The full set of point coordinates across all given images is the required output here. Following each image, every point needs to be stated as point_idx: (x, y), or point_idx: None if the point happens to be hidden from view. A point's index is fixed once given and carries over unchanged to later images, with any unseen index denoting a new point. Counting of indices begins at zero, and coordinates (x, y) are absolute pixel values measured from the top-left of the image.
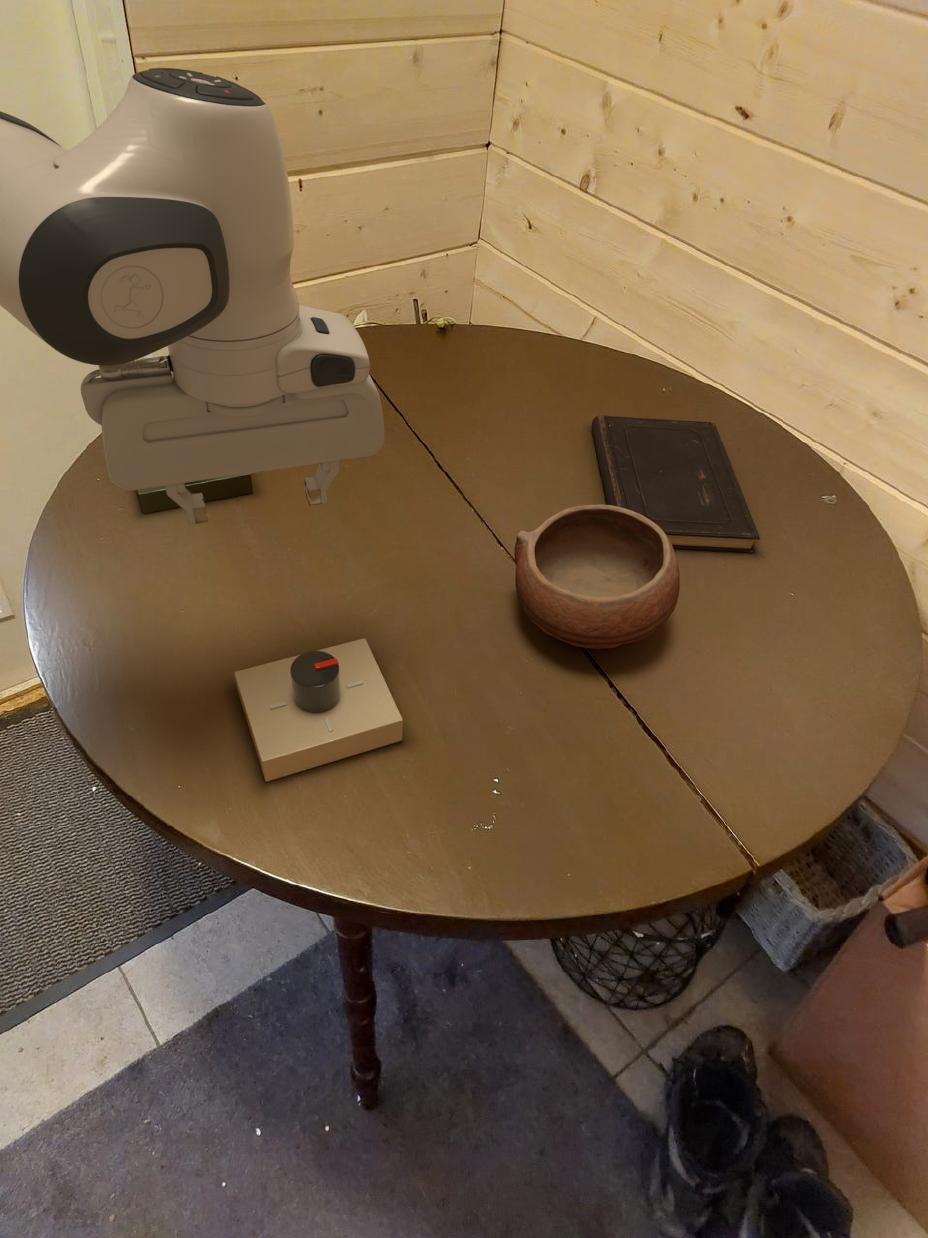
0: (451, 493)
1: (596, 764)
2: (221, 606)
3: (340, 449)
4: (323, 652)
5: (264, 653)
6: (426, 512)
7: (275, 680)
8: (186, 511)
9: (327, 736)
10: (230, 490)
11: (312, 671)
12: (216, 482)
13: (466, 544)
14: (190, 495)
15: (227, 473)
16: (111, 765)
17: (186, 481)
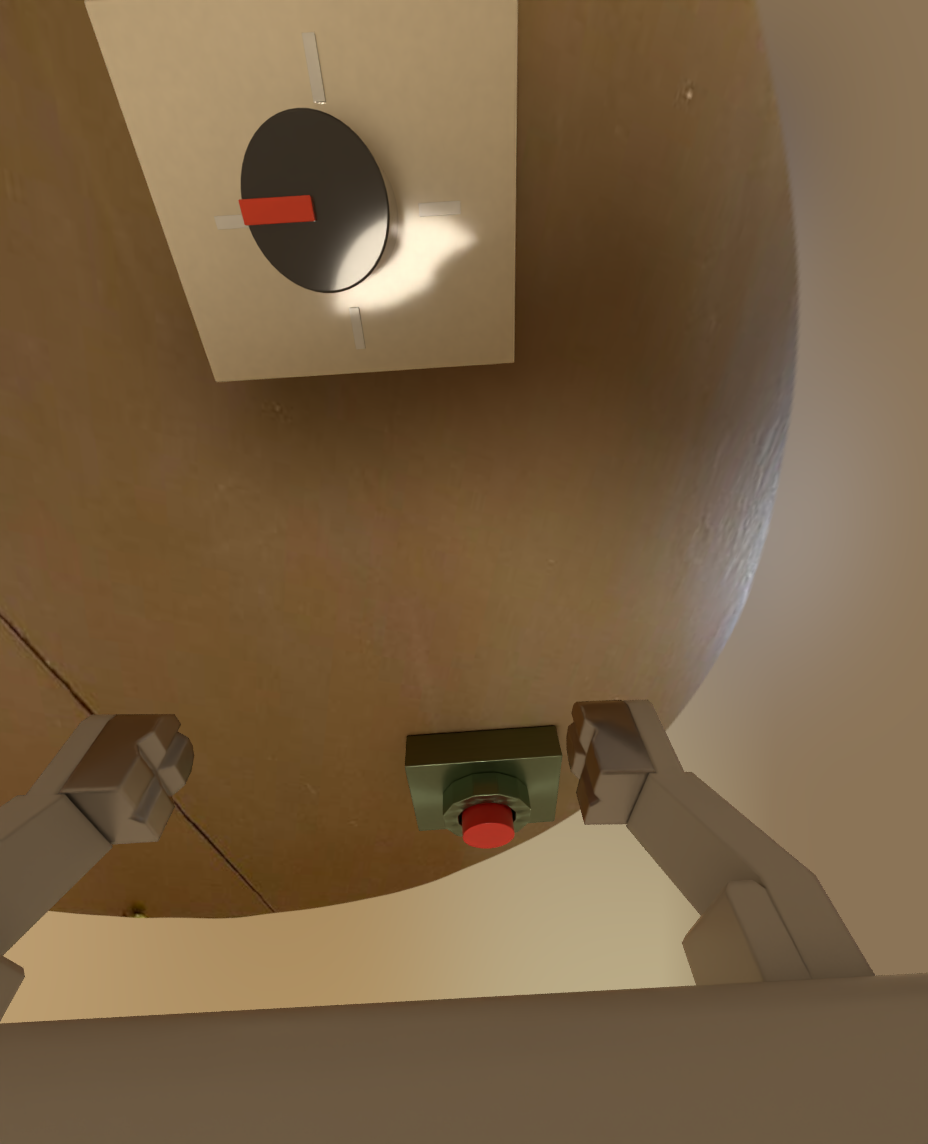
0: (93, 696)
1: None
2: (490, 557)
3: None
4: (288, 275)
5: (439, 438)
6: (134, 670)
7: (432, 304)
8: (678, 760)
9: (321, 17)
10: (437, 744)
11: (323, 194)
12: (454, 759)
13: (48, 598)
14: (639, 824)
15: (517, 1054)
16: (783, 225)
17: (792, 1005)
